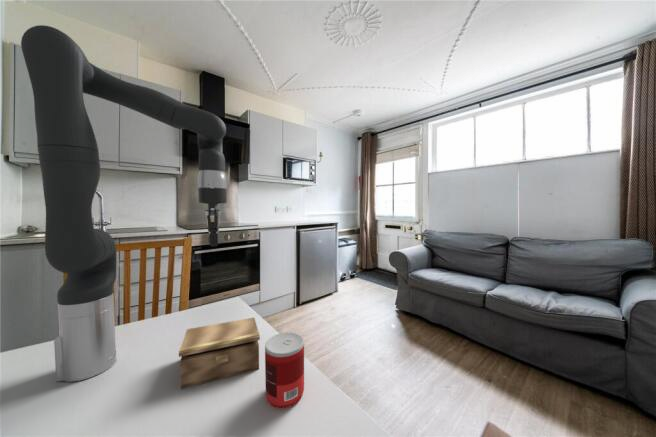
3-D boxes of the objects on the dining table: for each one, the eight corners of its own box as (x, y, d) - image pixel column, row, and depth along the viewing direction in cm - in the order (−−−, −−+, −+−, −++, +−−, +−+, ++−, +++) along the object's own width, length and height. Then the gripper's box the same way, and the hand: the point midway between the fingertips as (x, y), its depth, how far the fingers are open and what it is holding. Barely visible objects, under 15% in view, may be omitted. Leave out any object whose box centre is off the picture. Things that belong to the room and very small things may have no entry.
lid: (178, 356, 50) (178, 352, 50) (187, 332, 61) (187, 328, 61) (259, 339, 57) (259, 335, 57) (254, 320, 68) (254, 316, 68)
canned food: (310, 384, 52) (309, 335, 51) (292, 415, 44) (292, 357, 44) (279, 376, 54) (278, 329, 54) (257, 404, 47) (257, 349, 46)
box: (180, 389, 50) (180, 362, 50) (189, 356, 62) (188, 333, 61) (259, 369, 57) (258, 344, 56) (253, 342, 68) (253, 321, 68)
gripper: (200, 188, 75) (201, 243, 76) (195, 184, 63) (197, 250, 63) (226, 189, 78) (227, 242, 78) (226, 185, 66) (227, 248, 66)
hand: (214, 245), depth 71 cm, fingers closed
